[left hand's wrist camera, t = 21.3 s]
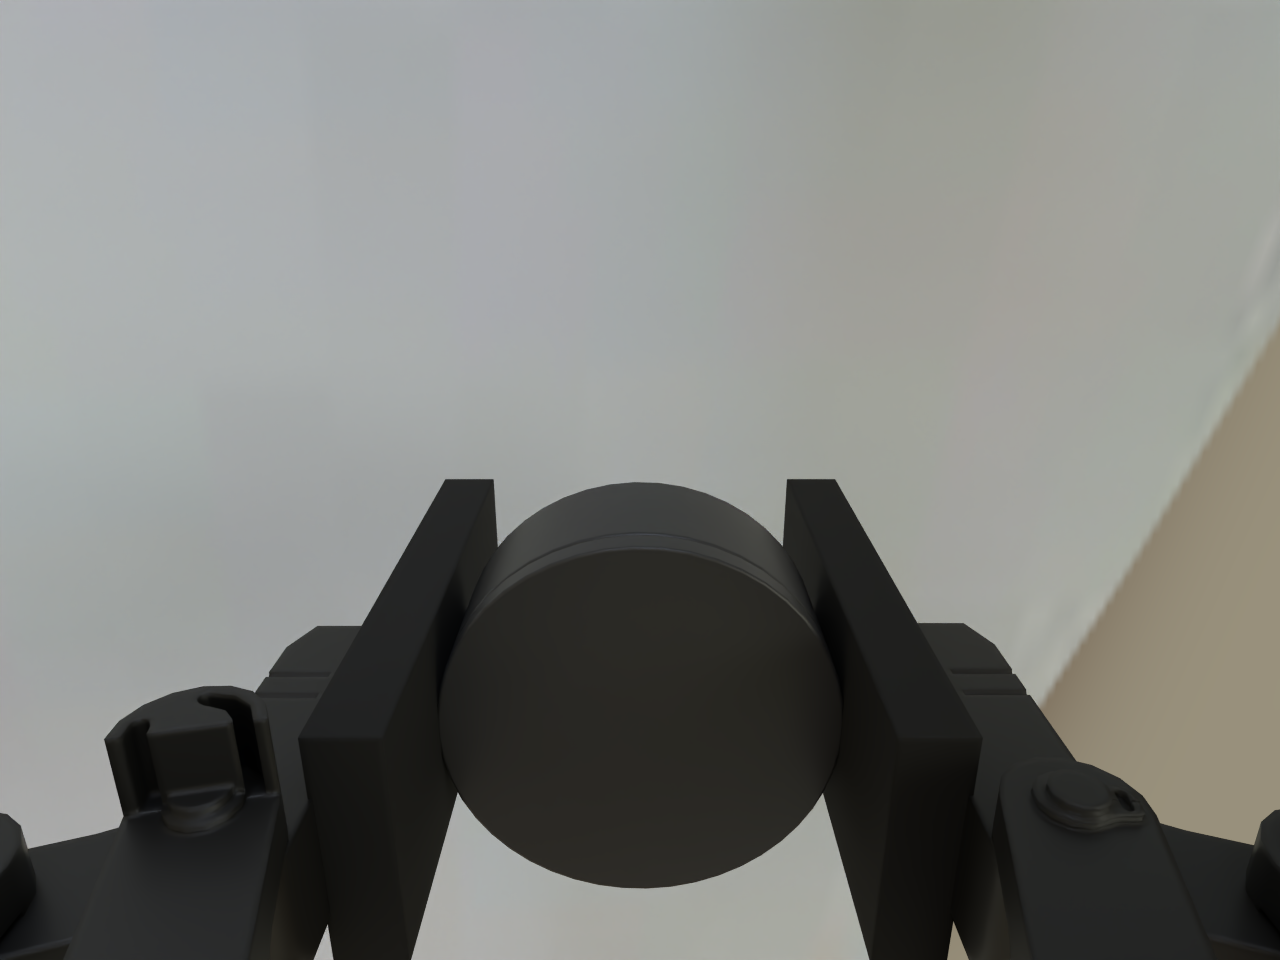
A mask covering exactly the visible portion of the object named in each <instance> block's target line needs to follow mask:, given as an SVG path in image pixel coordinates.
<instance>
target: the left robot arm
mask: <svg viewBox="0 0 1280 960" xmlns="http://www.w3.org/2000/svg"><path fill="white" fill-rule="evenodd" d="M497 548H498V544H497V528H496V512H495V495H494V479H445V481H444V483H443V485H442V486H441V488H440V490H439V492H438V493H437V495H436V497H435V499H434V500H433V502H432V504H431V506H430V507H429V509H428V511H427V513H426V514H425V516H424V518H423V520H422V521H421V523H420V525H419V527H418V528H417V530H416V532H415V534H414V535H413V537H412V539H411V541H410V542H409V544H408V546H407V548H406V549H405V551H404V553H403V555H402V556H401V558H400V560H399V562H398V563H397V565H396V567H395V569H394V570H393V572H392V574H391V576H390V577H389V579H388V581H387V583H386V584H385V586H384V588H383V590H382V591H381V593H380V595H379V597H378V598H377V600H376V602H375V604H374V605H373V607H372V609H371V611H370V612H369V614H368V616H367V618H366V619H365V621H364V623H363V625H362V626H317V627H315V628H314V629H313V630H311V631H310V632H308V633H307V634H305V635H304V636H302V637H301V638H299V639H298V640H297V641H295V642H294V643H292V644H291V645H289V646H288V647H286V649H285V650H284V652H283V653H282V655H281V656H280V658H279V659H278V660H277V662H276V663H275V665H274V666H273V668H272V669H271V670H270V672H269V677H266V678H265V679H264V681H263V682H262V683H261V685H260V686H259V688H258V689H257V691H256V692H255V693H254V692H253V691H250V690H246V689H242V688H238V687H233V686H203V687H198V688H194V689H189V690H185V691H180V692H175V693H172V694H169V695H167V696H164V697H162V698H159V699H157V700H154V701H152V702H150V703H147V704H145V705H143V706H141V707H140V708H138V709H137V710H135V711H134V712H132V713H131V714H129V715H128V716H126V717H125V718H123V719H122V720H120V721H119V722H118V723H117V724H116V726H115V727H114V728H113V729H112V730H111V732H110V733H109V734H108V735H107V736H106V738H105V739H104V740H105V744H106V748H107V752H108V756H109V760H110V764H111V768H112V772H113V776H114V780H115V784H116V788H117V792H118V796H119V800H120V804H121V808H122V812H123V816H124V817H123V819H122V822H121V824H120V826H119V828H116V829H112V830H109V831H105V832H102V833H98V834H94V835H90V836H85V837H81V838H76V839H71V840H67V841H62V842H58V843H53V844H48V845H44V846H39V847H35V848H30V849H28V848H27V845H26V842H25V838H24V835H23V832H22V829H21V826H20V825H19V824H18V823H17V822H16V821H14V820H13V819H12V818H11V817H10V816H9V815H7V814H2V813H0V960H314V957H315V955H316V952H317V950H318V947H319V945H320V942H321V940H322V937H323V935H324V932H325V930H326V927H327V924H328V928H329V935H330V941H331V947H332V953H333V959H334V960H411V958H412V954H413V951H414V947H415V944H416V940H417V936H418V933H419V929H420V926H421V922H422V918H423V915H424V911H425V908H426V904H427V901H428V897H429V893H430V890H431V886H432V883H433V879H434V875H435V872H436V868H437V865H438V861H439V858H440V854H441V850H442V847H443V843H444V840H445V836H446V832H447V829H448V825H449V822H450V818H451V815H452V811H453V807H454V804H455V800H456V797H457V793H458V791H457V789H456V788H455V786H454V784H453V782H452V780H451V778H450V775H449V773H448V770H447V767H446V765H445V762H444V759H443V756H442V751H441V742H440V732H439V721H438V697H439V689H440V686H441V682H442V678H443V674H444V670H445V667H446V664H447V662H448V659H449V656H450V654H451V651H452V648H453V645H454V643H455V640H456V637H457V635H458V632H459V629H460V627H461V624H462V621H463V618H464V616H465V613H466V610H467V608H468V605H469V602H470V600H471V597H472V594H473V591H474V589H475V587H476V584H477V582H478V580H479V577H480V575H481V573H482V571H483V569H484V567H485V566H486V564H487V562H488V561H489V559H490V558H491V556H492V554H493V553H494V552H495V550H496V549H497ZM783 548H784V549H785V551H786V552H787V554H788V555H789V556H790V558H791V559H792V560H793V562H794V564H795V566H796V568H797V569H798V571H799V573H800V575H801V577H802V579H803V581H804V584H805V587H806V589H807V592H808V595H809V597H810V600H811V603H812V606H813V608H814V611H815V614H816V616H817V619H818V622H819V625H820V627H821V630H822V633H823V635H824V638H825V641H826V644H827V646H828V649H829V652H830V655H831V657H832V660H833V663H834V666H835V669H836V672H837V674H838V677H839V681H840V686H841V692H842V697H843V717H842V729H841V739H840V749H839V755H838V758H837V762H836V765H835V768H834V771H833V773H832V775H831V777H830V780H829V782H828V784H827V786H826V788H825V790H824V792H823V795H824V798H825V802H826V805H827V809H828V813H829V816H830V820H831V823H832V827H833V830H834V834H835V838H836V841H837V845H838V848H839V852H840V856H841V859H842V863H843V866H844V870H845V873H846V877H847V881H848V884H849V888H850V891H851V895H852V899H853V902H854V906H855V909H856V913H857V916H858V920H859V924H860V927H861V931H862V934H863V938H864V942H865V945H866V949H867V952H868V956H869V959H870V960H947V957H948V950H949V944H950V938H951V932H952V926H953V921H954V924H955V926H956V929H957V931H958V933H959V936H960V939H961V941H962V944H963V946H964V948H965V951H966V953H967V956H968V959H969V960H1280V810H1275V811H1274V812H1272V813H1271V814H1270V815H1269V816H1268V817H1266V818H1265V819H1264V820H1263V821H1262V822H1261V824H1260V828H1259V831H1258V834H1257V838H1256V841H1255V844H1254V845H1250V844H1245V843H1241V842H1236V841H1231V840H1227V839H1222V838H1218V837H1213V836H1209V835H1204V834H1199V833H1195V832H1190V831H1186V830H1182V829H1178V828H1175V827H1171V826H1168V825H1164V824H1161V823H1160V822H1159V820H1158V818H1157V815H1156V814H1155V812H1154V811H1153V810H1152V808H1151V807H1150V805H1149V804H1148V803H1147V801H1146V800H1145V798H1144V797H1143V796H1142V795H1141V794H1140V793H1138V792H1137V791H1136V790H1134V789H1133V788H1132V787H1131V786H1129V785H1128V784H1127V783H1125V782H1124V781H1123V780H1121V779H1120V778H1118V777H1116V776H1114V775H1112V774H1110V773H1107V772H1105V771H1103V770H1101V769H1099V768H1097V767H1095V766H1092V765H1089V764H1085V763H1081V762H1077V761H1076V760H1075V759H1074V757H1073V756H1072V754H1071V753H1070V751H1069V750H1068V749H1067V747H1066V746H1065V744H1064V743H1063V742H1062V740H1061V739H1060V737H1059V736H1058V734H1057V733H1056V731H1055V730H1054V729H1053V727H1052V726H1051V724H1050V723H1049V722H1048V720H1047V719H1046V717H1045V716H1044V714H1043V713H1042V711H1041V710H1040V709H1039V707H1038V706H1037V704H1036V703H1035V701H1034V700H1033V699H1032V697H1031V696H1030V695H1027V694H1026V689H1025V687H1024V686H1023V684H1022V683H1021V682H1020V680H1019V679H1018V677H1017V676H1016V674H1012V669H1011V667H1010V666H1009V664H1008V663H1007V662H1006V660H1005V659H1004V657H1003V656H1002V654H1001V653H1000V652H999V650H998V649H997V647H996V646H995V644H993V643H992V642H990V641H989V640H987V639H986V638H984V637H983V636H981V635H980V634H978V633H977V632H976V631H974V630H973V629H971V628H970V627H968V626H967V625H965V624H964V623H917V622H916V620H915V618H914V617H913V615H912V613H911V611H910V610H909V608H908V606H907V604H906V603H905V601H904V599H903V597H902V596H901V594H900V592H899V590H898V589H897V587H896V585H895V583H894V582H893V580H892V578H891V576H890V575H889V573H888V571H887V569H886V568H885V566H884V564H883V562H882V561H881V559H880V557H879V555H878V554H877V552H876V550H875V548H874V547H873V545H872V543H871V541H870V540H869V538H868V536H867V534H866V533H865V531H864V529H863V527H862V526H861V524H860V522H859V520H858V519H857V517H856V515H855V513H854V512H853V510H852V508H851V506H850V505H849V503H848V501H847V499H846V498H845V496H844V494H843V492H842V491H841V489H840V487H839V485H838V484H837V482H836V480H835V479H787V488H786V505H785V521H784V537H783Z"/></svg>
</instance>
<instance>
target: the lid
mask: <svg viewBox="0 0 1280 960" xmlns="http://www.w3.org/2000/svg"><path fill="white" fill-rule="evenodd" d="M842 717H843V697H842V692H841V686H840V681H839V677H838V674H837V672H836V669H835V666H834V663H833V660H832V657H831V655H830V652H829V649H828V646H827V644H826V641H825V638H824V635H823V633H822V630H821V627H820V625H819V622H818V619H817V616H816V614H815V611H814V608H813V606H812V603H811V600H810V597H809V595H808V592H807V589H806V587H805V584H804V581H803V579H802V577H801V575H800V573H799V571H798V569H797V568H796V566H795V564H794V562H793V560H792V559H791V558H790V556H789V555H788V554H787V552H786V551H785V549H784V548H783V547H782V545H781V544H780V543H779V542H778V541H777V540H776V539H775V538H774V537H773V536H772V535H771V534H770V533H769V532H768V531H767V530H766V529H765V528H764V527H763V526H762V525H760V524H759V523H758V522H757V521H755V520H754V519H753V518H752V517H750V516H749V515H748V514H746V513H744V512H743V511H741V510H739V509H738V508H736V507H734V506H732V505H731V504H729V503H727V502H725V501H723V500H720V499H718V498H716V497H713V496H711V495H709V494H706V493H703V492H699V491H696V490H692V489H689V488H685V487H681V486H675V485H668V484H662V483H640V482H632V483H621V484H611V485H606V486H601V487H597V488H592V489H587V490H584V491H581V492H579V493H576V494H573V495H570V496H567V497H564V498H562V499H560V500H558V501H556V502H554V503H552V504H550V505H548V506H547V507H545V508H543V509H541V510H540V511H538V512H537V513H535V514H534V515H532V516H531V517H529V518H528V519H527V520H525V521H524V522H523V523H522V524H520V525H519V526H518V527H517V528H516V529H515V530H514V531H513V532H512V533H510V534H509V535H508V536H507V537H506V539H505V540H504V541H503V542H502V543H501V544H500V546H499V547H498V548H497V549H496V550H495V552H494V553H493V554H492V556H491V558H490V559H489V561H488V562H487V564H486V566H485V567H484V569H483V571H482V573H481V575H480V577H479V580H478V582H477V584H476V587H475V589H474V591H473V594H472V597H471V600H470V602H469V605H468V608H467V610H466V613H465V616H464V618H463V621H462V624H461V627H460V629H459V632H458V635H457V637H456V640H455V643H454V645H453V648H452V651H451V654H450V656H449V659H448V662H447V664H446V667H445V670H444V674H443V678H442V682H441V686H440V689H439V697H438V721H439V732H440V742H441V751H442V756H443V759H444V762H445V765H446V767H447V770H448V773H449V775H450V778H451V780H452V782H453V784H454V786H455V788H456V789H457V791H458V793H459V795H460V797H461V798H462V800H463V801H464V803H465V804H466V805H467V807H468V808H469V809H470V811H471V812H472V813H473V815H474V816H475V817H476V818H477V820H478V821H479V822H480V823H481V824H482V825H483V826H484V827H485V828H486V829H487V830H488V831H489V832H490V833H491V834H492V835H494V836H495V837H496V838H497V839H499V840H500V841H501V842H502V843H504V844H505V845H506V846H507V847H509V848H510V849H511V850H513V851H515V852H516V853H518V854H519V855H521V856H523V857H524V858H526V859H528V860H529V861H531V862H533V863H535V864H537V865H539V866H542V867H544V868H546V869H548V870H550V871H552V872H555V873H558V874H561V875H564V876H567V877H570V878H572V879H576V880H580V881H584V882H589V883H593V884H597V885H604V886H612V887H620V888H659V887H671V886H677V885H682V884H688V883H694V882H698V881H701V880H704V879H708V878H711V877H715V876H718V875H721V874H723V873H726V872H728V871H731V870H733V869H735V868H738V867H740V866H742V865H744V864H746V863H748V862H750V861H751V860H753V859H755V858H757V857H759V856H761V855H762V854H764V853H765V852H766V851H768V850H769V849H771V848H772V847H773V846H775V845H776V844H778V843H779V842H781V841H782V840H783V839H784V838H785V837H786V836H787V835H788V834H789V833H791V832H792V831H793V830H794V829H795V828H796V827H797V826H798V825H799V824H800V823H801V822H802V820H803V819H804V818H805V817H806V816H807V815H808V813H809V812H810V811H811V810H812V809H813V807H814V806H815V804H816V803H817V801H818V799H819V798H820V796H821V795H822V793H823V792H824V790H825V788H826V786H827V784H828V782H829V780H830V777H831V775H832V773H833V771H834V768H835V765H836V762H837V758H838V755H839V749H840V739H841V729H842Z"/></svg>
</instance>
